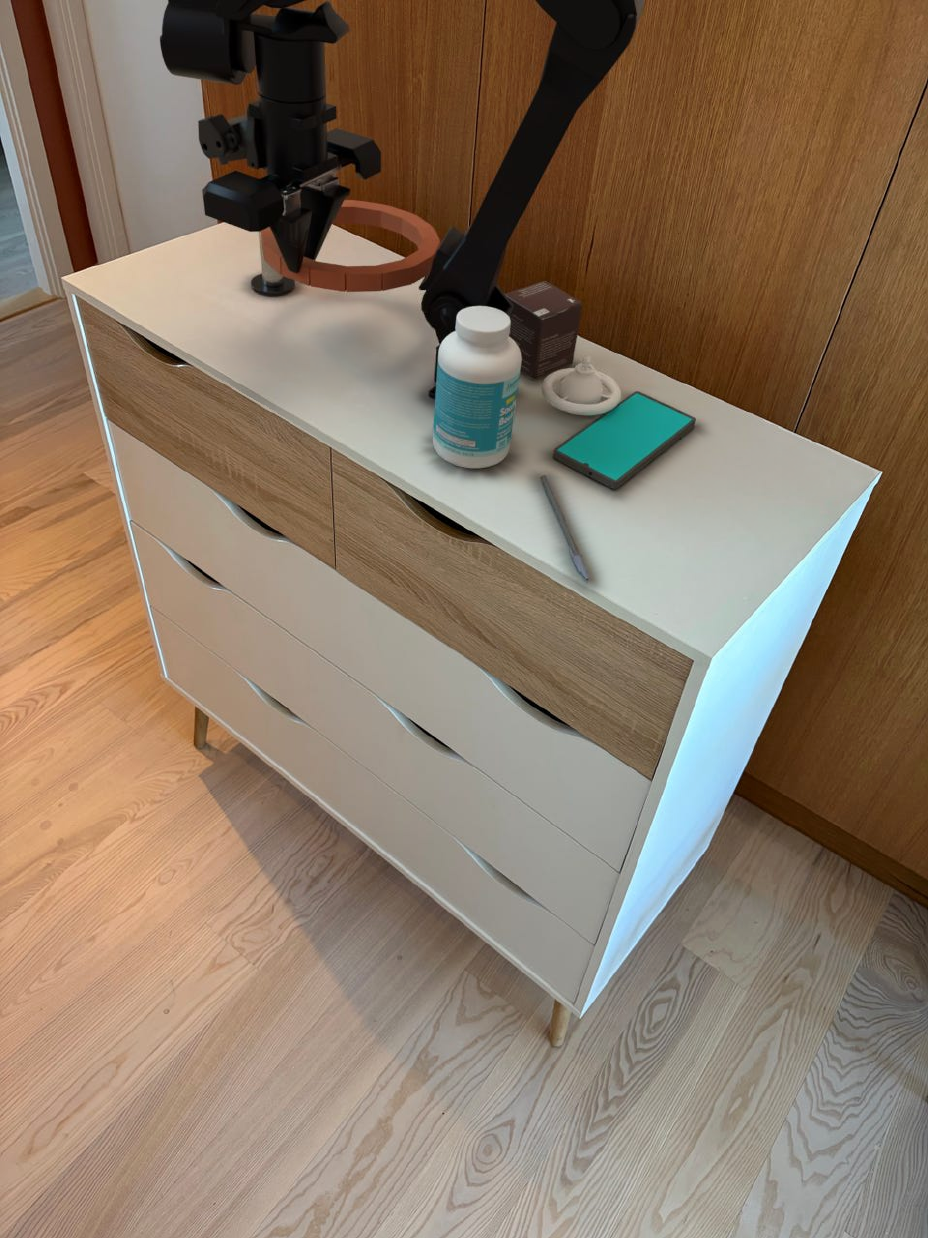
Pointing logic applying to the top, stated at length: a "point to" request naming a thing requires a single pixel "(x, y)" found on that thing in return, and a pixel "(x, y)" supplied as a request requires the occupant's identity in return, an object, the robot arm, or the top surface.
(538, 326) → the box
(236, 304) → the top surface
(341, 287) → the ring
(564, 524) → the pen
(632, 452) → the smartphone
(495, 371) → the pill bottle
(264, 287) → the post stand
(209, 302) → the top surface
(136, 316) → the top surface
